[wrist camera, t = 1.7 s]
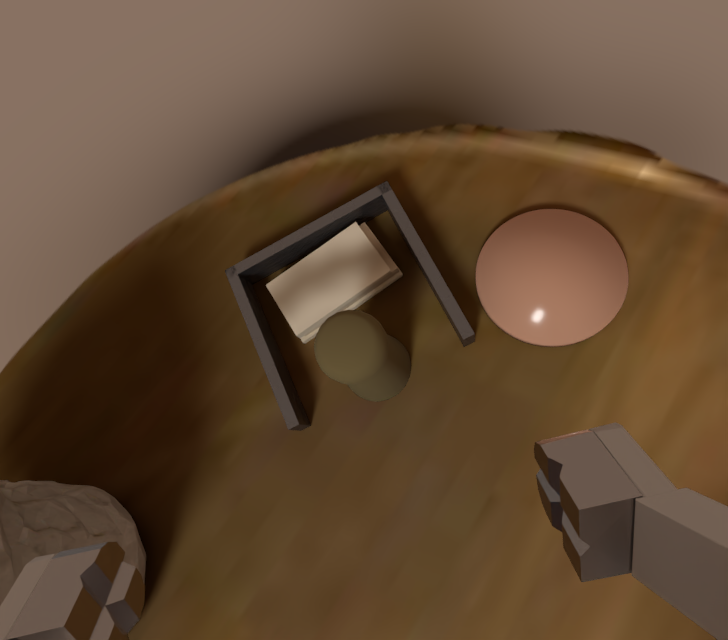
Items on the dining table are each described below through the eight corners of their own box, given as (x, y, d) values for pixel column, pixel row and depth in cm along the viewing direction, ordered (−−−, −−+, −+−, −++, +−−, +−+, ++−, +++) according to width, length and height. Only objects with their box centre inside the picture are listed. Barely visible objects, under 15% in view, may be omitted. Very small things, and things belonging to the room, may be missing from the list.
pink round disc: (628, 216, 40) (631, 212, 40) (622, 355, 38) (625, 353, 37) (483, 209, 43) (483, 205, 43) (468, 337, 41) (468, 336, 40)
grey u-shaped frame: (474, 341, 41) (474, 333, 38) (301, 430, 42) (288, 429, 39) (392, 196, 46) (386, 180, 43) (239, 280, 47) (224, 270, 44)
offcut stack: (403, 277, 44) (399, 265, 41) (306, 344, 44) (295, 338, 42) (369, 229, 46) (362, 215, 43) (276, 295, 46) (263, 285, 44)
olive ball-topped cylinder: (368, 321, 43) (334, 282, 33) (424, 356, 41) (408, 327, 31) (330, 377, 43) (284, 355, 32) (386, 415, 41) (356, 405, 30)
